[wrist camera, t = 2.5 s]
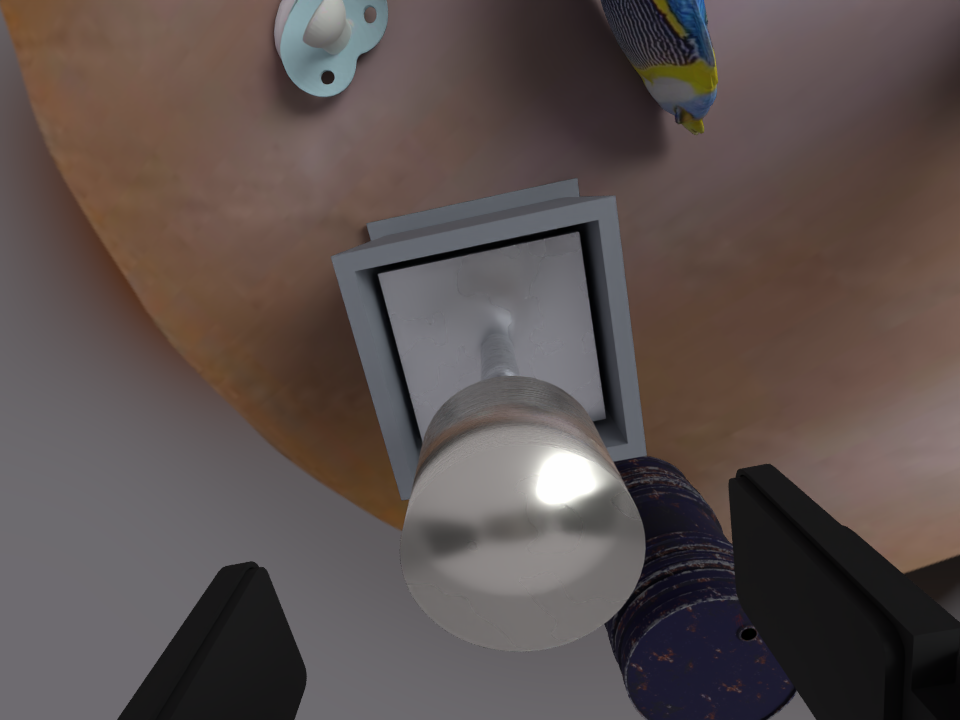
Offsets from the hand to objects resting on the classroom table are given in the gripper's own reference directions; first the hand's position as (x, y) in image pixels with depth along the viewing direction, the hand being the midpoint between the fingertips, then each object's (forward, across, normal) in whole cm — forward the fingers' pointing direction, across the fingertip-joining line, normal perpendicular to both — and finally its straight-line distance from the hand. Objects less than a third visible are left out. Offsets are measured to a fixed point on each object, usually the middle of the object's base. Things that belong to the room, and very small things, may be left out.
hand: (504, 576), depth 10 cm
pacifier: (+28, +6, -19) cm, 34 cm away
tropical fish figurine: (+27, -12, -15) cm, 33 cm away
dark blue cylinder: (+28, -9, +19) cm, 34 cm away
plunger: (+16, -1, 0) cm, 16 cm away
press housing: (+27, -1, 0) cm, 27 cm away
